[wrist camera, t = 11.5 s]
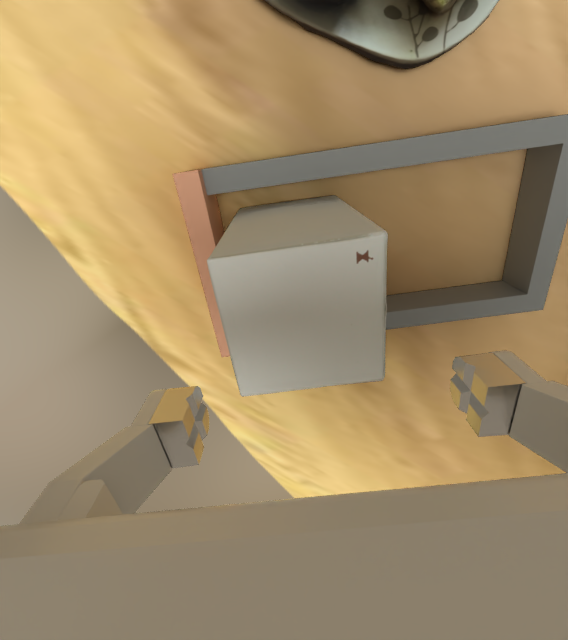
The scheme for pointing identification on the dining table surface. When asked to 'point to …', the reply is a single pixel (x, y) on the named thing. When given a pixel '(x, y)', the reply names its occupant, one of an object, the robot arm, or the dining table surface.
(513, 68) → the dining table surface
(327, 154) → the bay
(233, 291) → the supplement box
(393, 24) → the salad plate
